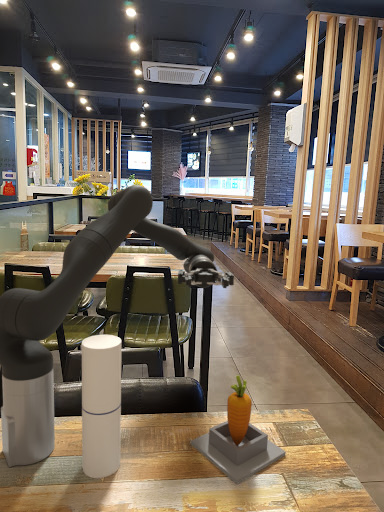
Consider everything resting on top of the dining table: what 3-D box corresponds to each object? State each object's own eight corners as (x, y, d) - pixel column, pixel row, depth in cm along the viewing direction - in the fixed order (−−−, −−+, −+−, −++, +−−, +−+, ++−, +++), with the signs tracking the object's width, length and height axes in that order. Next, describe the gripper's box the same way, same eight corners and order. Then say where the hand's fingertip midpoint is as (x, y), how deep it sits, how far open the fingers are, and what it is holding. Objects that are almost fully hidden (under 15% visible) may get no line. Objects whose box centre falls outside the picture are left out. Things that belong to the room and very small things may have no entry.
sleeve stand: (236, 484, 68) (238, 464, 67) (190, 444, 79) (191, 426, 78) (285, 455, 76) (286, 437, 76) (237, 422, 87) (238, 406, 87)
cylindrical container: (86, 482, 67) (86, 351, 63) (79, 458, 73) (78, 337, 70) (124, 470, 70) (126, 345, 67) (114, 448, 76) (115, 332, 73)
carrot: (248, 455, 75) (252, 385, 73) (223, 451, 76) (227, 382, 74) (249, 440, 80) (253, 374, 77) (226, 436, 81) (230, 371, 78)
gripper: (177, 257, 103) (178, 267, 87) (228, 258, 104) (238, 269, 88) (177, 283, 104) (177, 298, 88) (226, 284, 105) (236, 299, 89)
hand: (207, 283), depth 88 cm, fingers open, 8 cm apart
